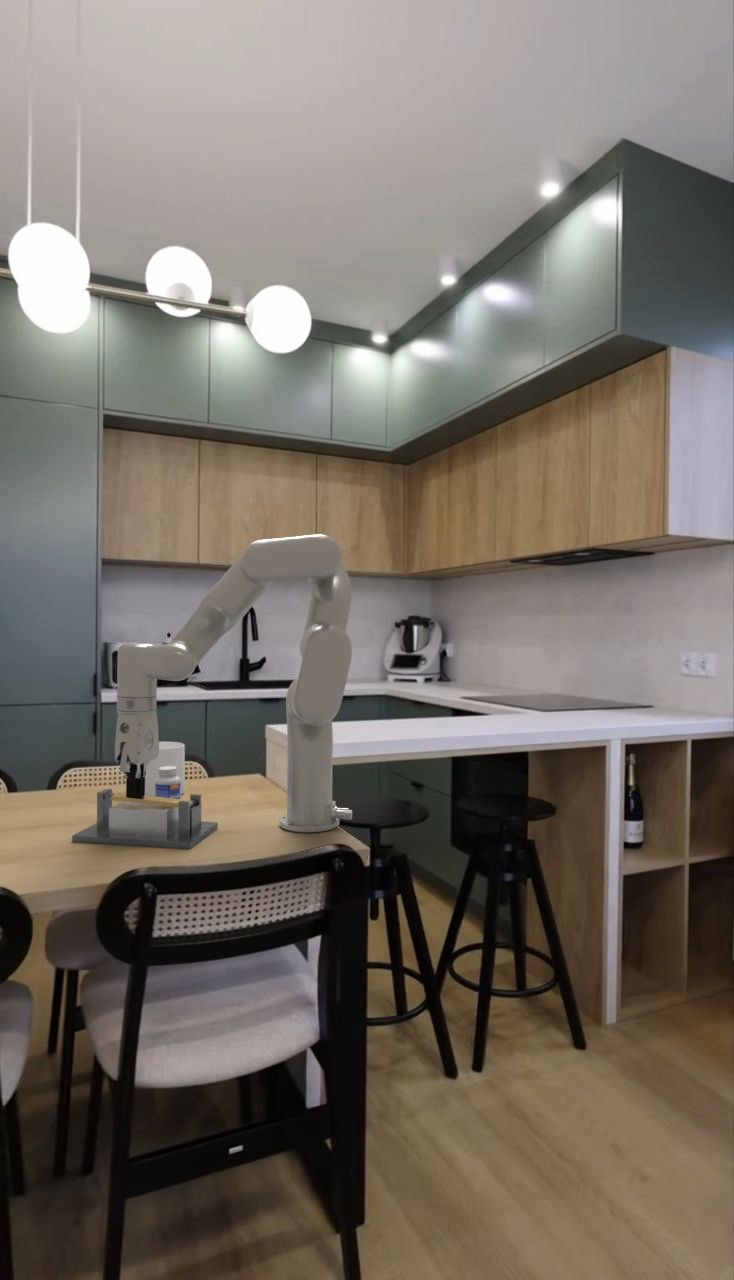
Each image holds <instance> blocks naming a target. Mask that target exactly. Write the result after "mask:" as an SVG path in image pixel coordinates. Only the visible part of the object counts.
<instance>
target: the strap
mask: <svg viewBox="0 0 734 1280" xmlns="http://www.w3.org/2000/svg"><path fill="white" fill-rule="evenodd" d="M111 800H112V801H116V802H123V801H124V802H133V803H142V804H151V805H160V806H169V807H178V804H179V801H190V807H191V806H193V805H195V804H196V800H190V799H189V800H188V799H181V798H180V799H173V798H164V797H155V796H146V795H145V796H143V797H141V798H132V797H126V792H125V793H124V792H117V793H114V795H112V796H111Z"/></svg>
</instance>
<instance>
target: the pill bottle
mask: <svg viewBox="0 0 734 1280" xmlns="http://www.w3.org/2000/svg"><path fill="white" fill-rule="evenodd" d="M158 773H159V775H160V777H158V778H157V779H156V781H155V797H164V798H173V799H181V795H180V778H179V777H178V776H176V774H177V767H174V766H165V767H160V768H159V770H158Z"/></svg>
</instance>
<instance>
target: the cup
mask: <svg viewBox="0 0 734 1280" xmlns="http://www.w3.org/2000/svg"><path fill="white" fill-rule="evenodd" d="M185 747H186V745H185V744H184V743H183V742H178V741H159V755H158V756H157V758H155V759H153V760H151V762H150V763H149V764H148V765H147V771H146V776H143V777H145V795H146V796H155V781H156V779H157V778H158V777H160V775H159V773H158V770H159V768H160V767H165V766H174V767H177V774H176V776H178V777H179V778H180V796H182V795H183V794H184V793H185V787H186V786H185V774H186V773H185V765H186V763H185V762H186V761H185V753H186V751H185V749H186V748H185Z"/></svg>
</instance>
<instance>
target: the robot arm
mask: <svg viewBox="0 0 734 1280" xmlns="http://www.w3.org/2000/svg"><path fill="white" fill-rule="evenodd" d="M342 559H343V554H342V548H341V547H340V545H339V544H338V542H337V541H336V540H335V539H334V538H333V537H331V536H328V535H326V534H319V533H318V534H309V535H300V536H290V537H289V536H288V537H281V538H280V537H279V538H267V539H259V540H256V541H253V542H251V543H250V544H248V546H246V548H245V550H244V551H243V552H242V553H241V555H240V556H238V558H237V559H236V561H234V563H232V565H231V566H230V567H229V569H228V570H227V571H226V572H225V573H224V574H223V575H222V577H221V578H220V579H219V580H218V581H217V582H216V583H215V584H214V586H212V588H211V589H210V590H209V591H208V592H207V594H206V595H205V596H204V597H203V599H202V600H201V602H200V603H199V605H198V607H197V609H196V610H195V611H194V613H193V614H192V615H191V617H190V618H189V619H188V621H187V622H186V623H185V624H184V625H183V626H182V628H181V629H180V630H179V631H178V632H177V633H176V634H175V636H174V637H173V638H172V639H171V640H169V642H168V643H167V644H157V645H155V644H152V643H144V642H143V643H142V642H136V643H135V642H127V643H122V644H121V645H119V647H118V649H117V665H116V666H117V670H116V671H117V675H116V676H117V677H116V678H117V680H116V682H117V683H116V685H117V687H116V713H117V720H116V727H115V728H116V729H115V740H114V741H115V742H114V743H115V744H114V757H115V758H114V759H115V762H116V763H117V764H118V765H120V766H119V772H122V773H124V777H125V782H126V783H125V785H126V786H125V789H126V790H125V793H126V797H132V798H141V797H143V796H145V777H143V776H146V771H147V765H148V764H149V763H150V762H151V760H153V759H155V758H157V756H158V755H159V742H160V740H159V739H160V738H159V721H158V714H157V697H158V696H157V693H158V691H157V688H158V687H157V686H158V680H164V681H173V682H179V681H183V680H186V679H187V678H189V677H190V676H192V675H193V673H194V671H195V669H196V667H197V666H198V665H199V663H200V662H201V661H202V660H203V659H204V657H205V656H206V655H207V654H208V653H209V652H210V651H211V650H212V649H213V647H214V646H215V645H216V644H217V642H219V640H220V639H222V638H223V636H225V635H226V634H227V633H228V632H230V631H231V630H233V628H235V626H236V625H237V624H238V623H239V622H240V621H241V620H242V619H243V618H244V617H245V615H246V614H247V613H248V612H249V610H251V608H252V607H253V606H254V605H255V604H256V603H257V601H258V600H259V599H260V598H261V597H262V596H263V594H264V593H265V592H266V591H267V590H268V589H269V587H270V586H271V585H272V584H273V583H276V582H288V581H297V580H305V579H306V580H307V582H308V583H309V585H310V591H311V595H310V596H311V597H310V602H309V608H308V613H307V618H306V622H305V626H304V630H303V633H302V636H301V640H300V643H299V651H300V655H301V658H302V659H301V664H300V669H299V673H298V677H297V678H295V679H294V680H292V682H291V683H290V685H289V686H288V689H287V692H286V697H285V709H286V729H287V730H286V731H287V735H286V736H287V739H286V740H287V741H286V742H287V744H286V745H287V746H286V747H287V751H286V814H284V815H283V816H281V817H280V818H279V821H278V822H279V826H280V827H281V828H282V829H284V830H287V831H290V832H296V833H321V832H325V831H330V830H334V829H335V828H337V827H339V825H340V819H342V820H352V819H353V810H352V809H349V807H338V806H337V804H336V803H337V802H336V800H333V749H334V747H333V743H334V741H333V740H334V739H333V737H334V736H333V734H334V733H333V719H334V718H335V717H336V716H337V714H338V712H339V710H340V708H341V705H342V702H343V698H344V693H345V689H346V684H347V679H348V675H349V672H350V666H351V663H352V662H351V661H352V655H353V654H352V653H353V646H352V641H351V639H350V636H349V635H348V633H347V628H348V627H347V626H348V623H349V622H348V621H349V617H350V610H351V607H352V606H351V604H352V594H353V593H352V592H353V591H352V585H351V580H350V577H349V574H348V571H347V569H346V568H345V566H344V565H343V563H342Z"/></svg>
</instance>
